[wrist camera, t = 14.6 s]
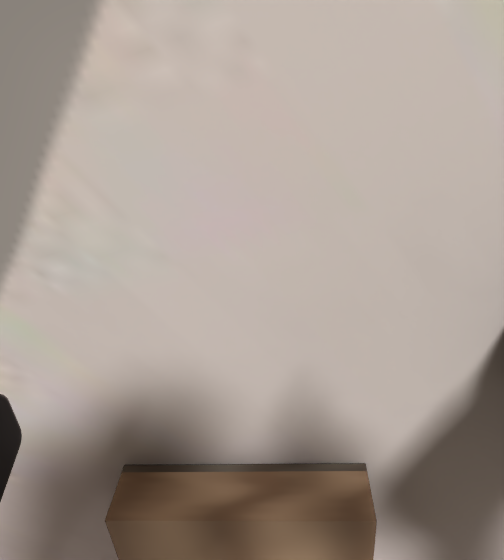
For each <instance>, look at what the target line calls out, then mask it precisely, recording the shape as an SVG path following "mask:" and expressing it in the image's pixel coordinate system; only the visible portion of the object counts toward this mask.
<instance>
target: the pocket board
mask: <svg viewBox="0 0 504 560" xmlns="http://www.w3.org/2000/svg"><path fill="white" fill-rule="evenodd" d="M105 522H106V525H107V528H108V530H109V533H110V536H111V539H112V542H113V544H114V547H115V550H116V553H117V556H118V558H119V560H373V556H374V545H375V533H376V522H377V521H376V516H375V511H374V505H373V500H372V495H371V490H370V484H369V479H368V474H367V469H366V464H232V465H124V467H123V470H122V473H121V476H120V479H119V482H118V485H117V487H116V490H115V493H114V496H113V499H112V502H111V505H110V508H109V510H108V513H107V516H106V519H105Z"/></svg>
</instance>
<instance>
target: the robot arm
mask: <svg viewBox="0 0 504 560" xmlns="http://www.w3.org/2000/svg"><path fill="white" fill-rule="evenodd" d="M21 437H22V434H21V429H20V426H19V424H18V421H17V419H16V417H15V414H14V412H13V410H12V407H11V405H10V403H9V400H8V399H7V397H5V396H4V395H2V394H0V501H1V499H2V496H3V493H4V490H5V487H6V484H7V482H8V479H9V476H10V473H11V470H12V467H13V464H14V462H15V459H16V456H17V453H18V450H19V447H20V444H21Z"/></svg>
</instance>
